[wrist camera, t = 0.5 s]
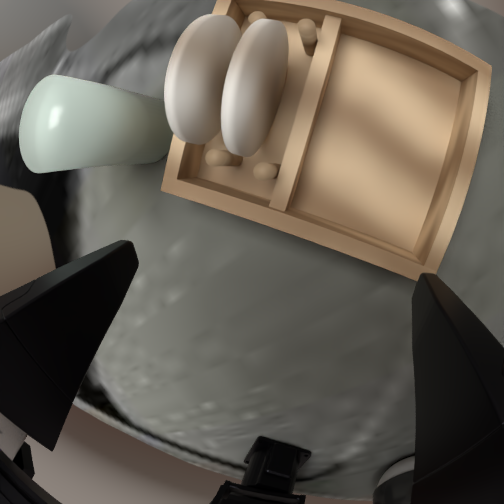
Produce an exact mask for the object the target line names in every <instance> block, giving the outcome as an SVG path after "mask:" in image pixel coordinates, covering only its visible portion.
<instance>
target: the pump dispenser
mask: <svg viewBox="0 0 504 504" xmlns="http://www.w3.org/2000/svg"><path fill="white" fill-rule="evenodd" d="M414 462H415V456H412V457H408V458H406V459H403V460H401V461H399V462H397V463H396V464H394V465H393V466H391V467H390V468H389V469H388V470H387V471H386V472H385V473H384V474H383V476H382V477H381V479H380V480H379V483H378V485H377V488H376V489H375V491H374V493H373V504H410V502H411V494H412V485H413V484H414V483H413V475H414Z"/></svg>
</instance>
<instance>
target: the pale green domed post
mask: <svg viewBox="0 0 504 504" xmlns="http://www.w3.org/2000/svg"><path fill="white" fill-rule="evenodd" d="M173 134H174V133H173V131H172V130H171V128H170V125H169V123H168V120H167V116H166V111H165V102H164V101H162V100H160V99H156V98H153V97H149V96H146V95H143V94H139V93H135V92H132V91H128V90H124V89H120V88H116V87H112V86H108V85H104V84H100V83H95V82H91V81H86V80H82V79H77V78H72V77H66V76H61V75H50V76H47V77H45V78H44V79H42V80H41V81H40V82H39V83H38V84H37V85H36V86H35V88H34V89H33V90H32V92H31V94H30V95H29V97H28V99H27V101H26V104H25V106H24V109H23V113H22V116H21V121H20V129H19V144H20V150H21V154H22V158H23V160H24V162H25V164H26V165H27V167H28V168H29V169H30V170H31V171H33V172H35V173H44V172H52V171H60V170H69V169H79V168H89V167H101V166H114V165H130V164H149V163H154V162H156V161H159V160H160V159H162V158H163V157H164V156H165V155H166V154H167V153H168V152H169V150H170V146H171V142H172V138H173Z"/></svg>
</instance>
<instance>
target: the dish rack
mask: <svg viewBox="0 0 504 504" xmlns="http://www.w3.org/2000/svg"><path fill="white" fill-rule="evenodd" d="M491 71H492V66H491V65H489V64H487V63H486V62H484V61H483V60H481V59H479V58H478V57H476V56H474V55H473V54H471V53H469V52H467V51H465V50H464V49H462V48H460V47H458V46H456V45H454V44H452V43H450V42H449V41H447V40H445V39H442V38H440V37H438V36H436V35H434V34H432V33H430V32H428V31H425V30H423V29H421V28H418V27H416V26H414V25H411V24H409V23H406V22H404V21H401V20H398V19H396V18H393V17H390V16H387V15H384V14H381V13H378V12H375V11H372V10H369V9H366V8H362V7H359V6H355V5H351V4H348V3H344V2H340V1H335V0H217V2H216V5H215V7H214V10H213V12H212V14H209V15H204V16H202V17H199V18H198V19H196V20H195V21H193V22H192V23H191V24H190V25H189V26H188V27H187V28H186V30H185V31H184V32H183V33H182V35H181V37H180V38H179V40H178V42H177V44H176V46H175V48H174V50H173V52H172V55H171V58H170V61H169V64H168V68H167V73H166V78H165V88H164V101H165V111H166V116H167V120H168V123H169V125H170V128H171V130H172V131H173V133H174V134H173V138H172V142H171V146H170V150H169V154H168V159H167V163H166V168H165V172H164V177H163V182H162V186H161V191H164V192H167V193H170V194H173V195H176V196H179V197H183V198H186V199H189V200H192V201H195V202H198V203H201V204H204V205H207V206H210V207H213V208H216V209H219V210H222V211H225V212H228V213H231V214H234V215H237V216H240V217H243V218H246V219H249V220H252V221H255V222H258V223H261V224H264V225H267V226H269V227H272V228H275V229H278V230H281V231H284V232H287V233H289V234H292V235H295V236H298V237H301V238H304V239H306V240H309V241H312V242H315V243H317V244H320V245H323V246H326V247H328V248H331V249H334V250H337V251H339V252H342V253H345V254H347V255H350V256H353V257H356V258H358V259H361V260H364V261H366V262H369V263H372V264H374V265H377V266H379V267H382V268H385V269H387V270H390V271H392V272H395V273H398V274H400V275H403V276H405V277H408V278H410V279H413V280H416V281H418V279H419V276H420V274H421V273H423V272H426V273H434V274H435V275H436V272H437V270H438V268H439V266H440V263H441V261H442V259H443V256H444V254H445V252H446V249H447V247H448V244H449V242H450V239H451V237H452V234H453V232H454V229H455V226H456V224H457V221H458V218H459V215H460V212H461V210H462V207H463V204H464V201H465V197H466V194H467V191H468V188H469V185H470V181H471V178H472V174H473V170H474V167H475V163H476V159H477V155H478V151H479V147H480V142H481V137H482V133H483V128H484V122H485V117H486V111H487V105H488V98H489V90H490V81H491Z"/></svg>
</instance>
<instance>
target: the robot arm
mask: <svg viewBox="0 0 504 504" xmlns="http://www.w3.org/2000/svg"><path fill="white" fill-rule="evenodd" d="M138 265H139V261H138V258H137V254H136V251H135V248H134V245H133V243H132V242H131V241H127V240H120V241H117V242H115V243H113V244H110V245H108V246H106V247H103V248H101V249H99V250H97V251H94V252H92V253H90V254H88V255H86V256H83V257H81V258H79V259H77V260H75V261H72V262H70V263H68V264H66V265H64V266H62V267H60V268H58V269H56V270H53V271H51V272H49V273H47V274H45V275H43V276H41V277H39V278H37V279H36V280H33V281H31V282H29V283H27V284H25V285H23V286H21V287H19V288H17V289H15V290H13V291H10V292H8V293H6V294H4V295H2V296H0V504H62V503H60V502H59V501H58V500H56V499H55V498H54V497H52V496H51V495H50V494H49V493H47V492H46V491H45V490H44V489H43V488H41V487H40V486H39V485H38V484H37V483H36V482H34V481H33V480H32V478H33V476H34V474H35V472H34V467H33V461H32V455H31V448H30V445H28V444H27V443H26V442H25V441H24V440H25V439H26V437H27V435H29V436H30V437H32V438H33V439H34V440H36V441H37V442H39V443H40V444H41V445H43V446H44V447H46V448H47V449H49V450H50V451H53V450H54V448H55V445H56V443H57V440H58V437H59V435H60V432H61V430H62V427H63V425H64V423H65V420H66V418H67V415H68V413H69V410H70V408H71V406H72V404H73V403H72V402H73V401H74V399H75V396H76V394H77V392H78V390H79V387H80V385H81V383H82V381H83V379H84V377H85V375H86V372H87V370H88V368H89V366H90V364H91V362H92V360H93V358H94V356H95V354H96V352H97V350H98V348H99V346H100V344H101V342H102V340H103V338H104V336H105V334H106V332H107V330H108V328H109V327H110V325H111V323H112V321H113V319H114V317H115V315H116V314H117V312H118V310H119V308H120V306H121V304H122V302H123V300H124V298H125V295H126V293H127V291H128V289H129V286H130V284H131V282H132V280H133V278H134V275H135V273H136V271H137V269H138ZM412 349H413V363H414V378H415V401H416V440H415V462H414V475H413V483H414V484H413V485H412V494H411V502H410V504H504V347H503V346H502V345H501V344H500V343H499V341H498V340H497V339H496V338H495V337H494V336H493V334H492V333H491V332H490V331H489V330H488V329H487V328H486V326H485V325H484V324H483V323H482V322H481V321H480V320H479V319H478V318H477V317H476V315H475V314H474V313H473V312H472V311H471V310H470V309H469V308H468V307H467V306H466V305H465V304H464V303H463V302H462V301H461V299H460V298H459V297H458V296H457V295H456V294H455V293H454V292H453V291H452V290H451V289H450V288H449V287H448V286H447V285H446V284H445V283H444V282H443V281H442V280H441V279H440V278H439V277H438V276H437V275H435V274H434V273H426V272H423V273H421V274H420V276H419V279H418V282H417V284H416V287H415V290H414V293H413V296H412ZM310 456H311V452H310V451H306V450H303V449H299V448H296V447H292V446H289V445H286V444H282V443H279V442H276V441H273V440H270V439H267V438H264V437H258V438H257V439H256V441H255V442H254V444H253V446H252V448H251V449H250V451H249V452H248V454H247V456H246V457H245V459H244V462H245V463H246V464H248V467H247V470H246V472H245V475H244V477H243V480H242V483H241V485H240V484H236V483H232V482H230V481H227V480H226V481H225V483H224V485H221V486H220V488H219V491H218V492H217V495H216V496H215V497H214V499H213V500H212V501H211V502H210V504H304V503H305V498H306V495H294V494H292V493H293V489H294V485H295V481H296V476H297V472H298V469H299V468H300V467H301V466H302V465H303V464H304V463H305V462H306V461H307V460H308V459H309V457H310Z"/></svg>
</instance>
